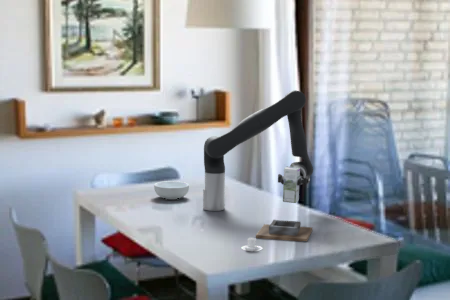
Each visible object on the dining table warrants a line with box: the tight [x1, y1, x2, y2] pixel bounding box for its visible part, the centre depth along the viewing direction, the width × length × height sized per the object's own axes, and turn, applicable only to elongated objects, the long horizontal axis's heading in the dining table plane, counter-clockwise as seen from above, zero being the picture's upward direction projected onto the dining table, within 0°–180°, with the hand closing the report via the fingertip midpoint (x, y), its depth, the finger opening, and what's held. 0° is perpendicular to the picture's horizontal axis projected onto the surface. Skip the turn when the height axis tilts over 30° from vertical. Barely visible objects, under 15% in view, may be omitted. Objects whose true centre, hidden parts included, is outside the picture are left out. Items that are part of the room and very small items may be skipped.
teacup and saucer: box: [241, 237, 264, 252], centre depth 269 cm, size 9×8×4 cm
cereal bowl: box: [153, 180, 190, 200], centre depth 354 cm, size 17×17×7 cm
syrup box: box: [282, 166, 300, 204], centre depth 303 cm, size 6×6×14 cm
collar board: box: [255, 219, 313, 242], centre depth 290 cm, size 20×18×4 cm
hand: (290, 182), depth 301 cm, fingers closed on syrup box, 6 cm apart
